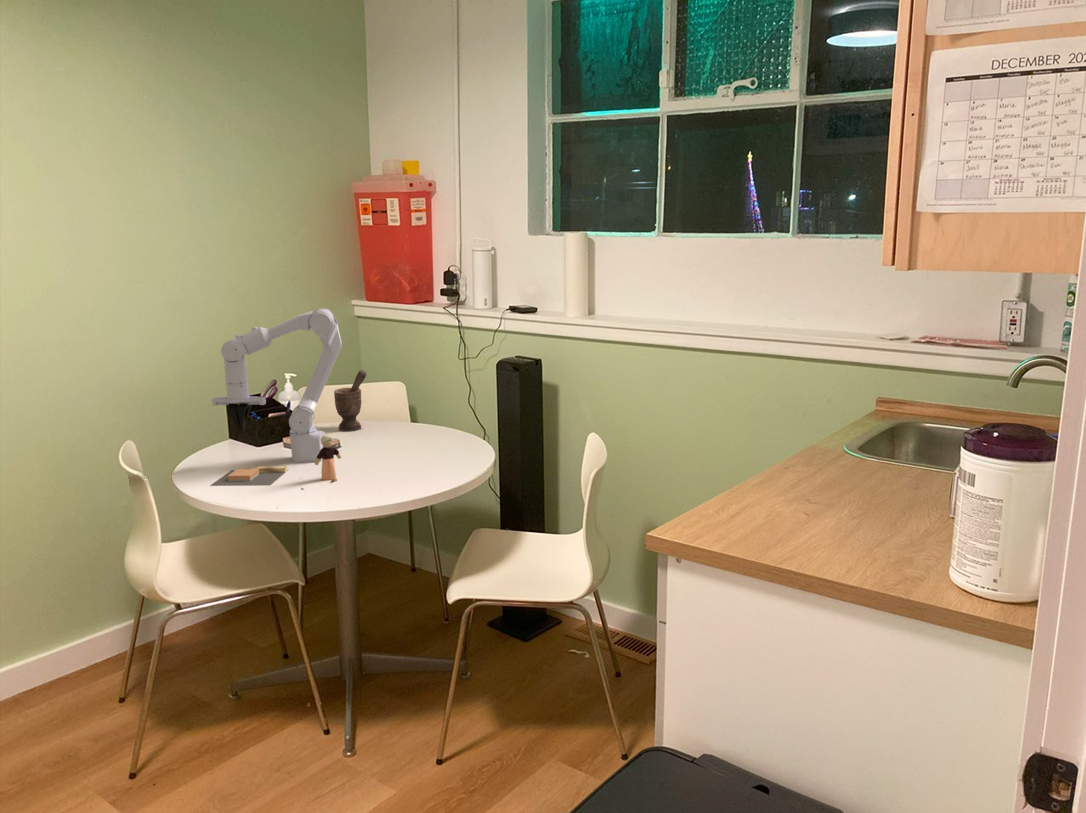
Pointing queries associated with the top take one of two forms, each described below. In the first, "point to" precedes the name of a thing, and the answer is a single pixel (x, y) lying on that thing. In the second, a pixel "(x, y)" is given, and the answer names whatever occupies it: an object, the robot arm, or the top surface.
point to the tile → (243, 475)
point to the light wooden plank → (269, 469)
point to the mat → (258, 480)
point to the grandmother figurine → (327, 458)
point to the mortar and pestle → (349, 403)
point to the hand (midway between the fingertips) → (241, 429)
